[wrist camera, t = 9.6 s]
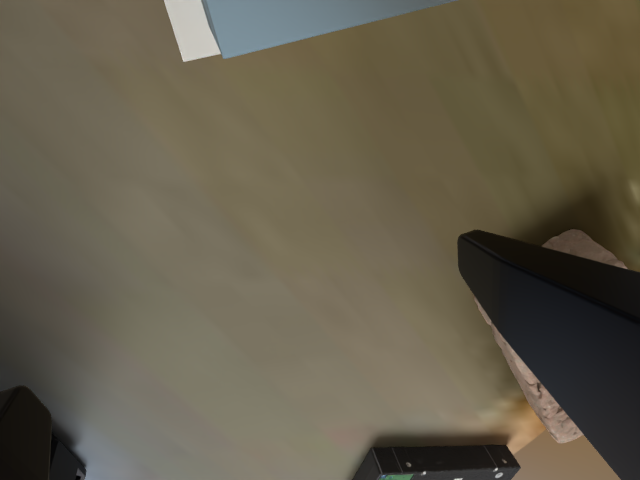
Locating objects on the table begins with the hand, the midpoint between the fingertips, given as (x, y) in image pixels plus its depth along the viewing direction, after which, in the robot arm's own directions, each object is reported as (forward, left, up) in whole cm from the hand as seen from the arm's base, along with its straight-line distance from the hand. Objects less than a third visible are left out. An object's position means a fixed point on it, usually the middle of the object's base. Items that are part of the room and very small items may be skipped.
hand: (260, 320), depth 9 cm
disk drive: (+7, -36, -13) cm, 39 cm away
